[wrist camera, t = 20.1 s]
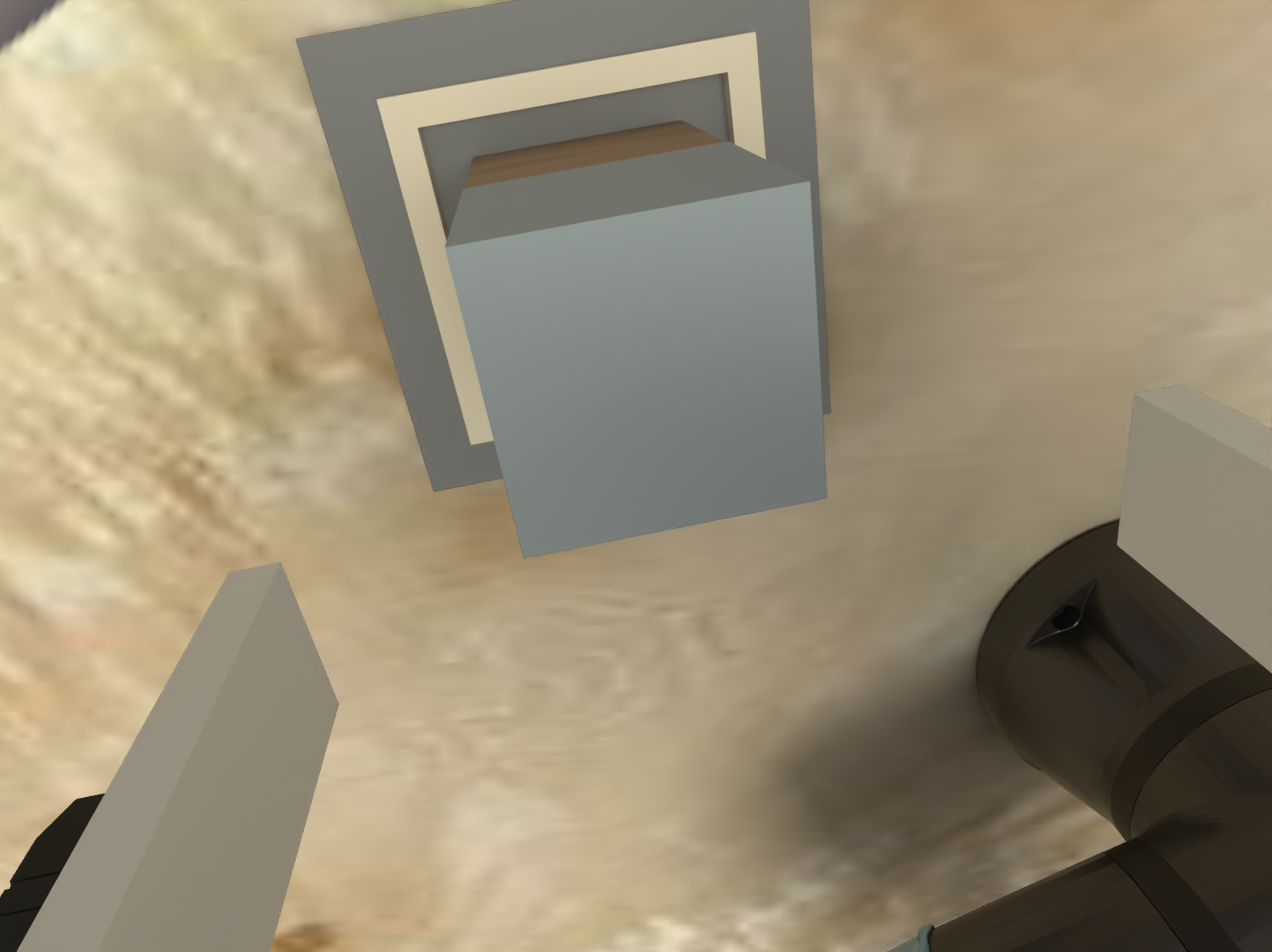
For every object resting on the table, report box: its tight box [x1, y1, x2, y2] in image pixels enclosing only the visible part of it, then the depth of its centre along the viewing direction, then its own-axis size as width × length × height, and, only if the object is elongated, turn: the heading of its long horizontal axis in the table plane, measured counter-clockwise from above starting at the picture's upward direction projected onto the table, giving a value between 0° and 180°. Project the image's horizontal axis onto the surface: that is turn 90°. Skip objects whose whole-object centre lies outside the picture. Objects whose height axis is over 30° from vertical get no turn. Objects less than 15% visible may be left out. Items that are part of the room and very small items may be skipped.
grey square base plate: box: [296, 0, 831, 492], centre depth 31 cm, size 16×16×3 cm
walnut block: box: [464, 120, 724, 188], centre depth 27 cm, size 7×7×7 cm
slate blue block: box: [445, 141, 827, 558], centre depth 21 cm, size 7×7×7 cm
